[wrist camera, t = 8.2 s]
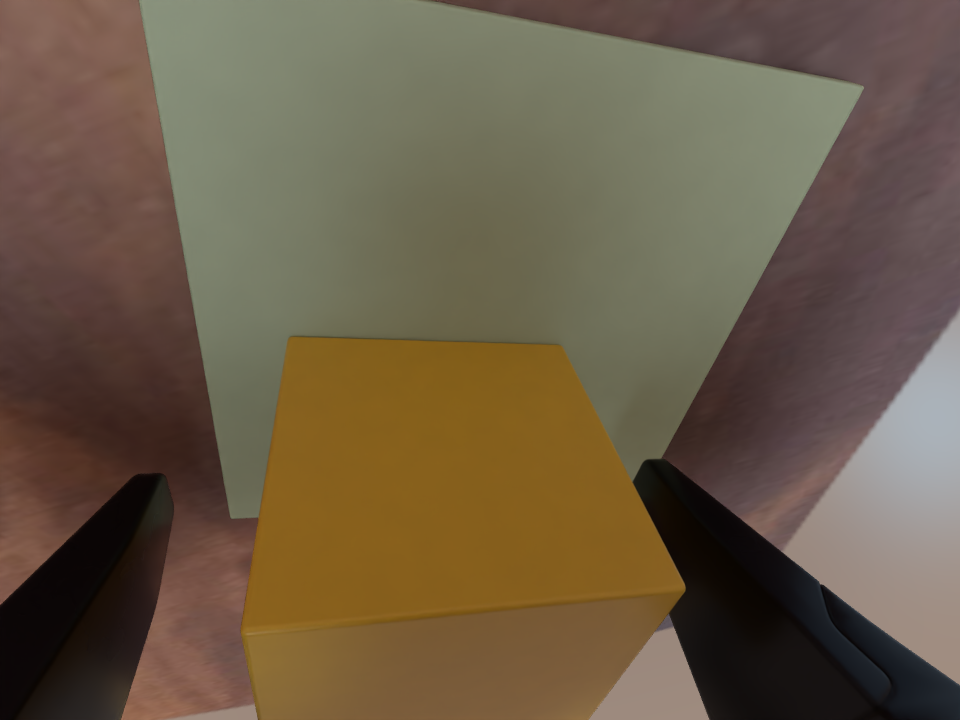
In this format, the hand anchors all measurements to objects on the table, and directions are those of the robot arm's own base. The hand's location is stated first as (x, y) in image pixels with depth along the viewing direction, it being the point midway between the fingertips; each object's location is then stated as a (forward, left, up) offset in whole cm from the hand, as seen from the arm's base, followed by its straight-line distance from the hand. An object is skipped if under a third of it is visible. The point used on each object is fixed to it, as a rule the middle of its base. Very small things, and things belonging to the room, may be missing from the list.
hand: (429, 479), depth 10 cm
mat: (+1, -2, -2) cm, 3 cm away
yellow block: (0, 0, -1) cm, 1 cm away
